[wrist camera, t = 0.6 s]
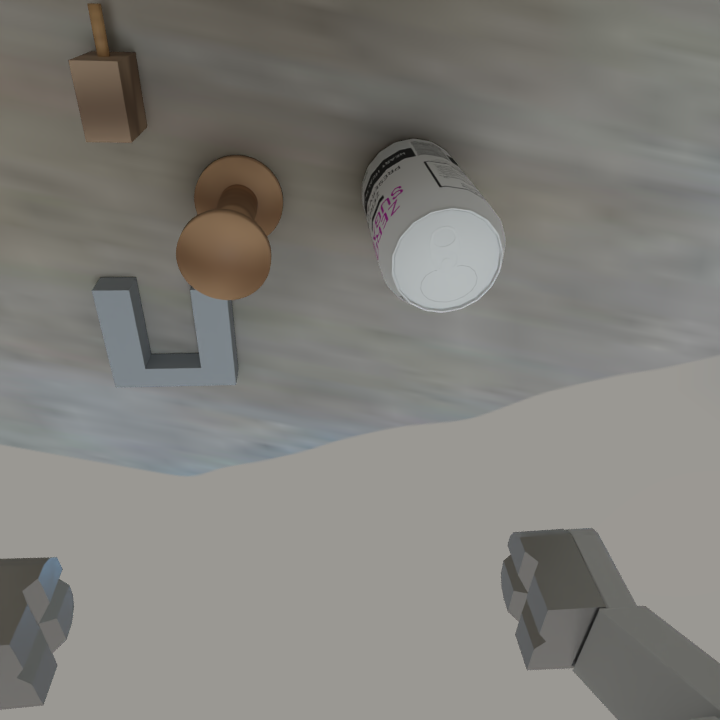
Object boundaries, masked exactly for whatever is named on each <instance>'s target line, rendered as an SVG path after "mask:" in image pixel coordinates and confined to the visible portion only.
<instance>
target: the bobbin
mask: <svg viewBox="0 0 720 720" xmlns="http://www.w3.org/2000/svg"><path fill="white" fill-rule="evenodd" d="M194 202H195V208H196V211H197V214H198V215H197V216H195V217H194V218H192V219H191V220H190V221H189V222H188V223H187V225H186V226H185V228H184V229H183V231H182V233H181V235H180V238H179V240H178V243H177V248H176V259H177V263H178V267H179V269H180V271H181V273H182V275H183V277H184V278H185V280H186V281H187V282H188V283H189V284H190V285H191V286H192V287H193V288H194V289H196V290H197V291H199V292H200V293H202V294H204V295H206V296H209V297H211V298H215V299H220V300H235V299H240V298H243V297H246V296H248V295H250V294H252V293H254V292H255V291H256V290H257V289H259V288H260V287H261V286H262V284H263V283H264V282H265V280H266V278H267V276H268V273H269V270H270V264H271V247H270V243H269V240H268V238H267V236H268V235H269V234H270V233H271V232H272V231H273V230H274V229H275V228H276V226H277V224H278V223H279V220H280V218H281V215H282V209H283V194H282V190H281V187H280V184H279V182H278V180H277V178H276V177H275V175H274V174H273V173H272V172H271V170H270V169H269V168H268V167H266V166H265V165H264V164H262V163H261V162H259V161H257V160H255V159H253V158H250V157H247V156H242V155H230V156H225V157H222V158H219V159H217V160H215V161H214V162H212V163H211V164H209V165H208V166H207V167H206V168H205V170H204V171H203V172H202V174H201V176H200V178H199V180H198V182H197V185H196V188H195V194H194Z"/></svg>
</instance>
